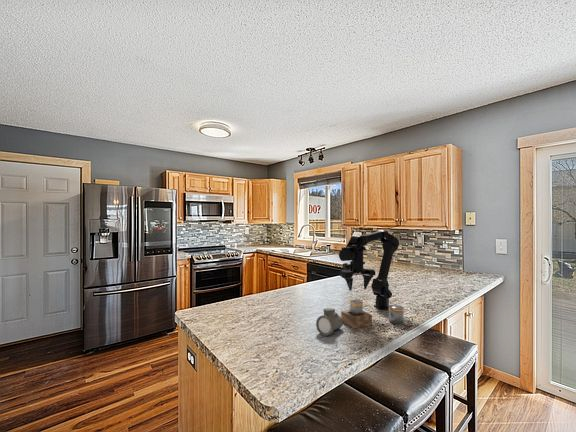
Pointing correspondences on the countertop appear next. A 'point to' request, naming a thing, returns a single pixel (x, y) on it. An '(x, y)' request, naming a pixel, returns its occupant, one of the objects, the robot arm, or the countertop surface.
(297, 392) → the countertop surface
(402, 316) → the cylinder
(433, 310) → the countertop surface
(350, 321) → the block
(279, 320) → the countertop surface
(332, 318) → the pipe fitting
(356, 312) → the square bit
